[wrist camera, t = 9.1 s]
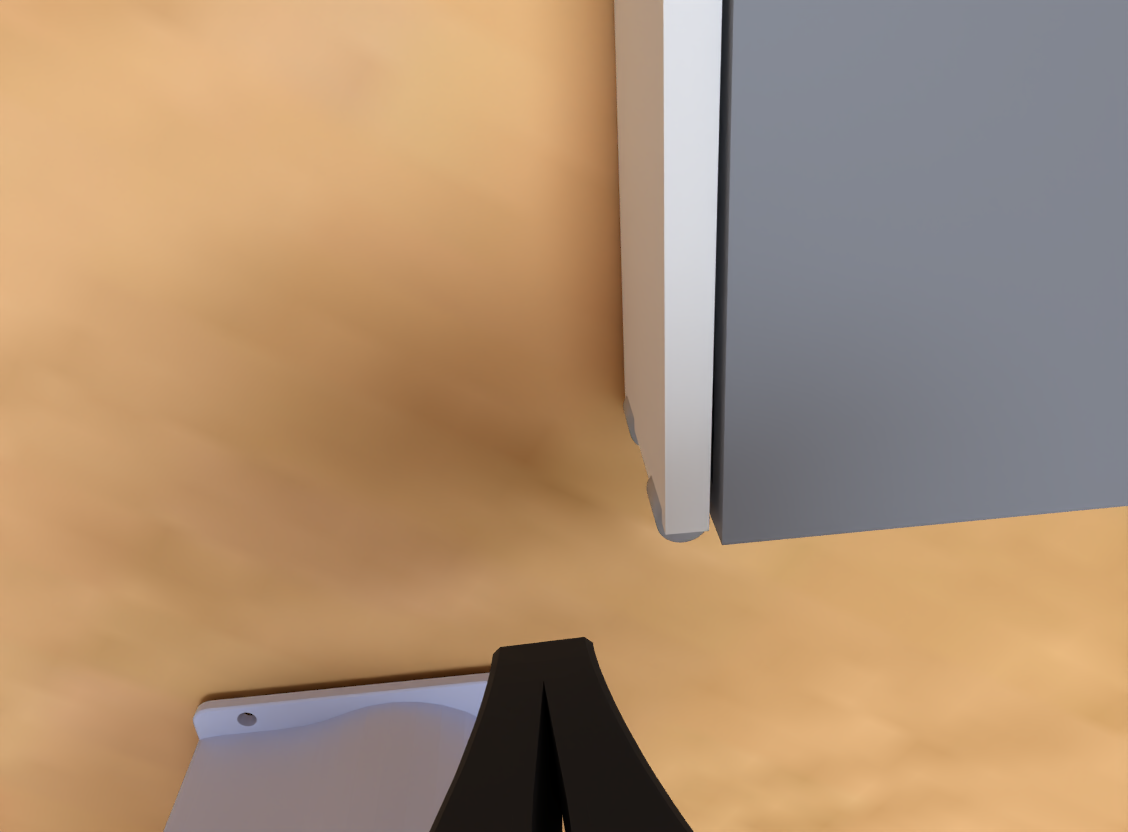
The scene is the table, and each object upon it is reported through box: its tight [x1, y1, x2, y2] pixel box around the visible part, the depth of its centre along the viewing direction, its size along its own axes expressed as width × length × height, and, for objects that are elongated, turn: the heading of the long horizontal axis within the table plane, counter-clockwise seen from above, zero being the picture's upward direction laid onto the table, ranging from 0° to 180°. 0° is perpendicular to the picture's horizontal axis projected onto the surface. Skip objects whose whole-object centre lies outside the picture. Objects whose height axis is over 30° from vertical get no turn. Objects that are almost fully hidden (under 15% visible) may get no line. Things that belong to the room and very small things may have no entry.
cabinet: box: [709, 0, 1128, 545], centre depth 15 cm, size 12×14×6 cm
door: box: [614, 0, 722, 542], centre depth 15 cm, size 2×14×6 cm, turn 3°
